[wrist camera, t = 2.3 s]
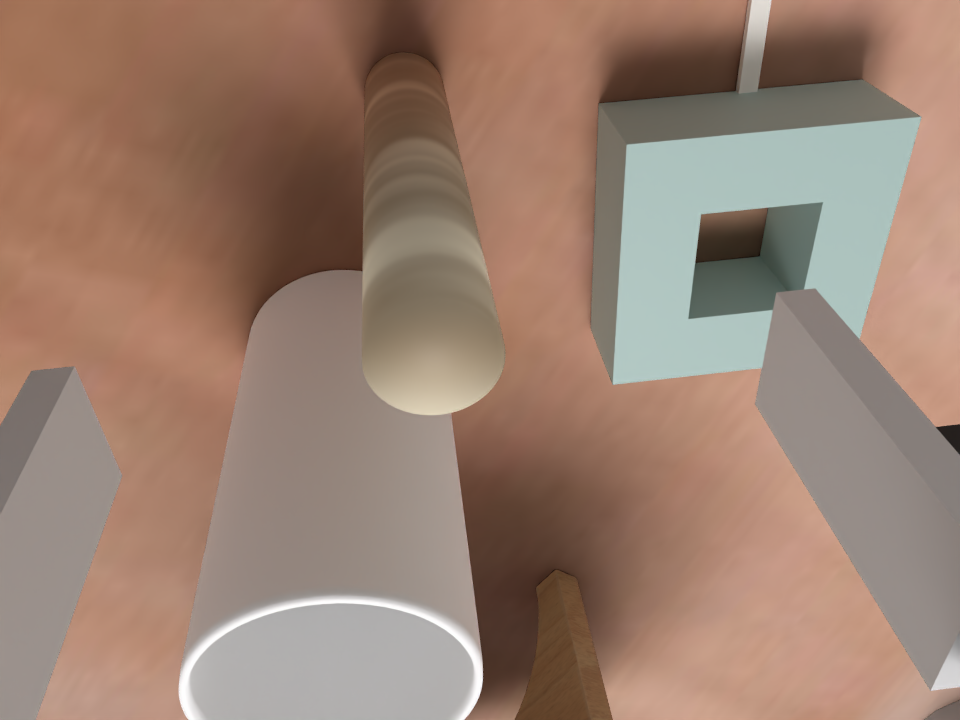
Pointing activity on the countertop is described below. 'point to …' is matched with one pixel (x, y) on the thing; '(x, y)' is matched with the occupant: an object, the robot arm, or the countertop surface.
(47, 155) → the countertop surface
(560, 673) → the planter
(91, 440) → the robot arm
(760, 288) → the bead
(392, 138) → the beige wooden dowel
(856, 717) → the countertop surface
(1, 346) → the countertop surface
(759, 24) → the cream stick
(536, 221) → the countertop surface
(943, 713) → the cup
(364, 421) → the cup
